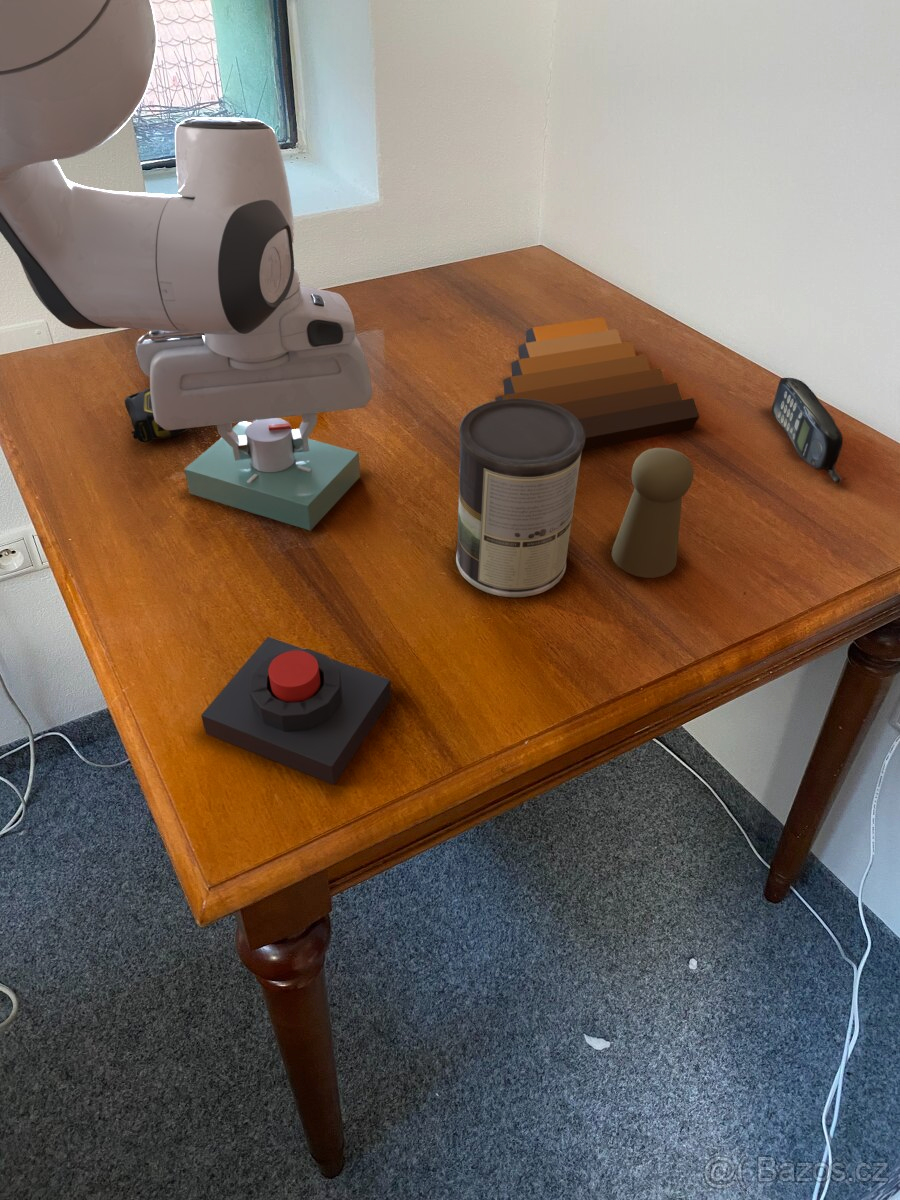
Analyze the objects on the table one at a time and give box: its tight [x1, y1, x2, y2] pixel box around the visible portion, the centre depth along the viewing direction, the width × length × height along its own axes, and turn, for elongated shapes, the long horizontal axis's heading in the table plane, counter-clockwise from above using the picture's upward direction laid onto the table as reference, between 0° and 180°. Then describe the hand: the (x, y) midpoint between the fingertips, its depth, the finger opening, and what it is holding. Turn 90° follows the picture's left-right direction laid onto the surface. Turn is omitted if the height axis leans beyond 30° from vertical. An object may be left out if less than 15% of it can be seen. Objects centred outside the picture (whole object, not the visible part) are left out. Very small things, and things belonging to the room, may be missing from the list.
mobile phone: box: [771, 377, 844, 484], centre depth 95 cm, size 5×3×15 cm
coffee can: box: [455, 398, 585, 598], centre depth 76 cm, size 10×10×14 cm
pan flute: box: [494, 316, 700, 452], centre depth 102 cm, size 25×3×25 cm
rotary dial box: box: [183, 421, 361, 532], centre depth 88 cm, size 14×10×3 cm
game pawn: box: [610, 447, 694, 579], centre depth 78 cm, size 6×6×11 cm
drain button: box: [268, 651, 320, 702], centre depth 64 cm, size 4×4×2 cm
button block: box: [200, 636, 392, 786], centre depth 66 cm, size 11×9×4 cm
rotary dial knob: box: [245, 418, 295, 472], centre depth 86 cm, size 4×4×4 cm
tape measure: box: [124, 388, 189, 444], centre depth 95 cm, size 7×7×4 cm
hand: (272, 452), depth 86 cm, fingers closed on rotary dial knob, 4 cm apart
